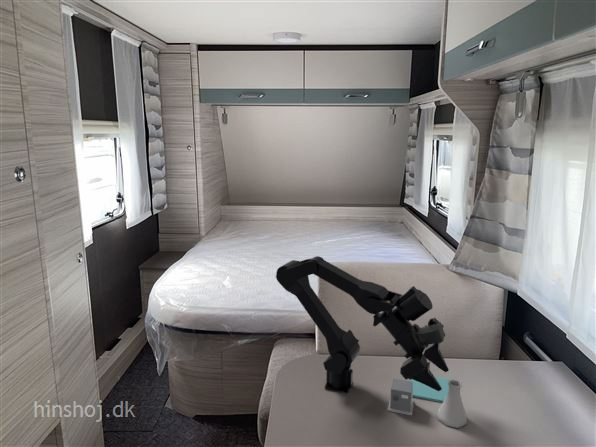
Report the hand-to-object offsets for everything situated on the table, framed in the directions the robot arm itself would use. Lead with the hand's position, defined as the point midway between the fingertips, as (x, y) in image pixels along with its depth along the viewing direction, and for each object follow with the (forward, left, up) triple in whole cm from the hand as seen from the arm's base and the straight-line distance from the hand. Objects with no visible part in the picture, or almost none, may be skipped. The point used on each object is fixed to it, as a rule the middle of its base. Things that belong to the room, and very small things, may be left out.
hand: (443, 380), depth 109 cm
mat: (-3, +11, -10) cm, 15 cm away
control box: (-10, +1, -10) cm, 14 cm away
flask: (+3, 0, -10) cm, 10 cm away
